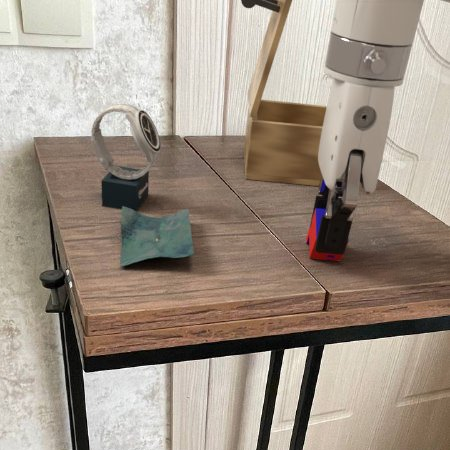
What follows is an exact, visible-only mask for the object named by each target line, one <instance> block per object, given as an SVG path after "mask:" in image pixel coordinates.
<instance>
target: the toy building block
mask: <svg viewBox="0 0 450 450" xmlns="http://www.w3.org/2000/svg"><path fill="white" fill-rule="evenodd" d="M325 212H326V209H319V208H316V209H315V212H314V215H313V218H312V217H311V219H312V223H311V222H310V224H311V229H310V227H309V228H308V232H307V234H306V238H305V244H306V245H309V246H308V247H309V250H308V251H309V259H310V260H311V259H313V260H322V261H323V260H324V261H335V262H341V261H342V259H343V257H344V255H345V253H344V254H342V255H339V254H329V253H319V252H317V251H316V249H315V245H316V240H317V236H318V231H319V226H320V221H321V217H322V215H325ZM349 242H350V236H349V237H348V241H347V245H346V249H345V251H346V250H347V247H348V245H349Z"/></svg>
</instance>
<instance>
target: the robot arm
mask: <svg viewBox="0 0 450 450" xmlns="http://www.w3.org/2000/svg"><path fill="white" fill-rule="evenodd" d="M441 1H442V2H445V3H449V4H450V0H441ZM424 2H425V0H336V1H335V8H334V13H333V18H332V23H331V28H330V30H331V31H330V35H329V40H328V46H327V49H326V50H327V51H326V56H325V61H324V66H323V73H324V74H325V75H327V76H329V77H331V78H332V82H331V85H330V87H329V88H330V90H329V95H328V99H327V104H326V106H327V108H326V113H325V117H324V123H323V128H322V133H321V139H320V145H319V152H318V163H319V167H320V170H321V173H322V175H321V179H320V183H319V186H317V195H315V200H314V203H313V209H312V215H311V220H310V225H309V228H310V229H311V223H312V218H313V215H314V212H315V209H316V208H319V209H326V212H325V215H322V217H321V221H320V226H319V231H318V236H317V240H316V245H315V249H316V251H317V252H319V253H329V254H339V255H342V254H344V255H345V253H346V250H347V247H346V245H347V241H348V237H349V238H350V233H351V228H352V224H353V219H354V215H355V211H356V208H357V206H358V204H359V196H360V185H361V187H362V188H363V191H364V193H365V194H366V195H372V194H374V192H375V191H376V189H377V186H378V180H379V175H380V171H381V167H382V162H383V157H384V153H385V148H386V144H387V138H388V135H389V130H390V123H391V119H392V112H393V107H394V106H393V105H394V97H395V89H396V88H395V87H400V86H402V85H403V83H404V79H405V75H406V72H407V68H408V64H409V59H410V56H411V52H412V49H413V44H414V41H415V36H416V33H417V29H418V25H419V21H420V19H421V18H420V17H421V13H422V10H423V6H424ZM347 246H348V245H347ZM345 249H346V250H345Z"/></svg>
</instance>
